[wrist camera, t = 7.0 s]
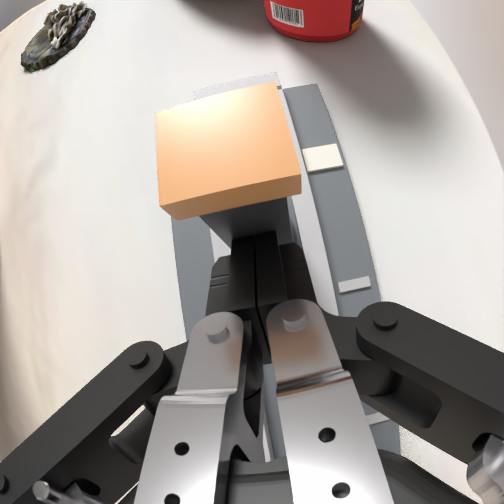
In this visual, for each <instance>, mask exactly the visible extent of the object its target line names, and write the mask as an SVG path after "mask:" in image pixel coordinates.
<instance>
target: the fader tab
mask: <svg viewBox="0 0 504 504" xmlns="http://www.w3.org/2000/svg"><path fill="white" fill-rule="evenodd" d="M156 152H157V174H158V191H159V206H160V207H161V208H162V209H164V210H165V211H166V212H167V213H168V214H170V215H171V216H172V217H173V218H174V219H176V220H177V221H179V220H183V219H188V218H192V217H196V216H199V217H200V218H201V219H202V220H203V221H204V222H205V223H206V224H207V225H208V226H209V227H210V228H211V229H212V230H213V231H214V232H215V233H216V235H217V236H218V237H219V238H220V239H221V240H222V241H223V242H224V243H225V244H226V245H227V246H228V247H229V248H230V249H231V243H232V240H233V239H238V238H243V237H248V236H252V235H253V236H254V238H255V235H257V234H262V233H267V232H272V231H276V232H277V237H278V242H279V245H282V244H287V243H292V242H295V238H294V234H293V229H292V224H291V219H290V215H289V210H288V203H287V197H289V196H294V195H299V194H302V181H301V170H300V167H299V163H298V159H297V155H296V152H295V148H294V144H293V141H292V137H291V133H290V130H289V126H288V123H287V119H286V116H285V112H284V109H283V106H282V102H281V99H280V95H279V92H278V89H277V86H276V82H272V83H267V84H262V85H257V86H252V87H247V88H243V89H238V90H234V91H230V92H226V93H222V94H218V95H214V96H210V97H206V98H202V99H199V100H195V101H192V102H188V103H185V104H181V105H178V106H175V107H172V108H168V109H165V110H162V111H159V112H156Z"/></svg>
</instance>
